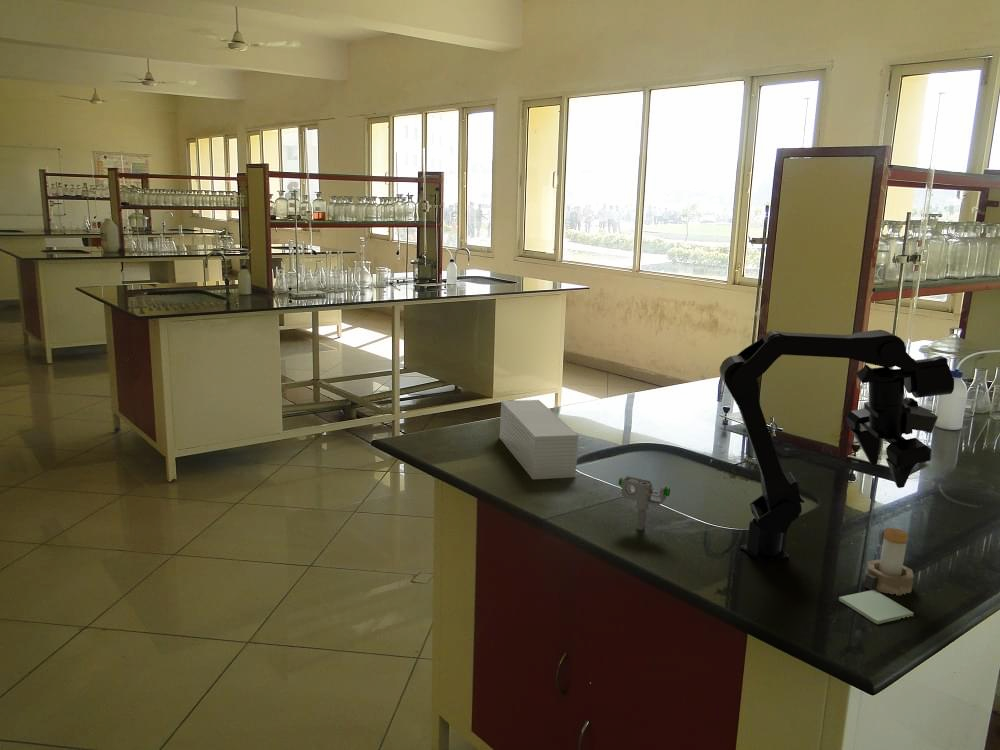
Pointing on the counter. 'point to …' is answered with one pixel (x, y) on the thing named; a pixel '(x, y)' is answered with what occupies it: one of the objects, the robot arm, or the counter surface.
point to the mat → (875, 606)
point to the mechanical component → (642, 495)
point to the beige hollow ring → (888, 580)
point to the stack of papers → (538, 439)
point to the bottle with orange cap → (893, 551)
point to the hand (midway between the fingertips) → (886, 475)
